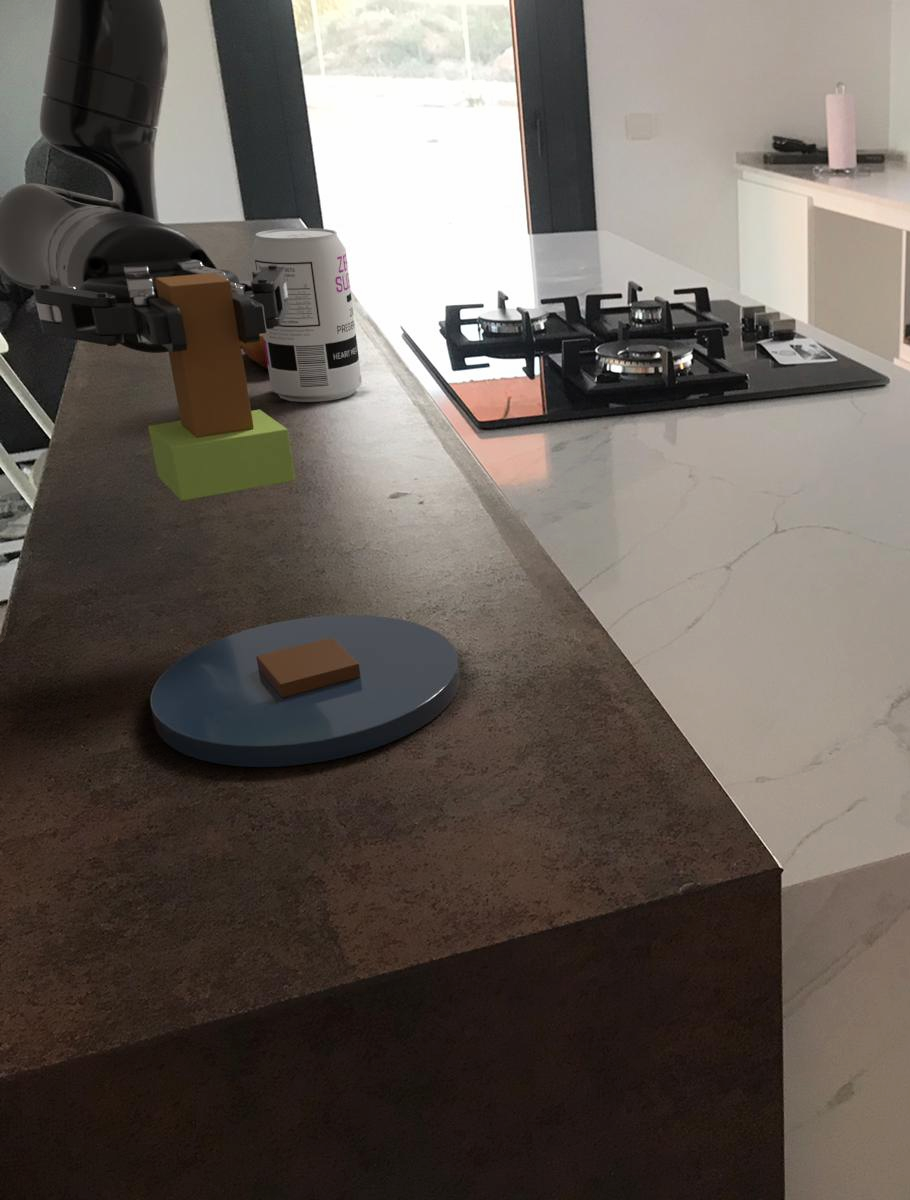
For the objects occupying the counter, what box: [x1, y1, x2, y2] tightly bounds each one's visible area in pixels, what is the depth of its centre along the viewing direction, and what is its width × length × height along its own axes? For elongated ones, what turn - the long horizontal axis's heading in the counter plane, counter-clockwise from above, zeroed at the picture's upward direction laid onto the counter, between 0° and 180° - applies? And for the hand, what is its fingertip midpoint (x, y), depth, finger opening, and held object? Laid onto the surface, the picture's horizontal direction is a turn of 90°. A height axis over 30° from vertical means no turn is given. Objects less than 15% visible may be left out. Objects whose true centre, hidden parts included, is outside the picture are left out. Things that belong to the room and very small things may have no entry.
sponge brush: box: [148, 273, 296, 502], centre depth 69 cm, size 6×5×11 cm
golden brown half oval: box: [240, 333, 268, 370], centre depth 134 cm, size 5×13×5 cm, turn 32°
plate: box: [149, 614, 461, 768], centre depth 67 cm, size 15×15×1 cm
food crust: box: [256, 637, 361, 698], centre depth 66 cm, size 4×4×1 cm
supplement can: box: [250, 227, 363, 403], centre depth 121 cm, size 8×8×15 cm
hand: (214, 326), depth 66 cm, fingers closed on sponge brush, 3 cm apart
